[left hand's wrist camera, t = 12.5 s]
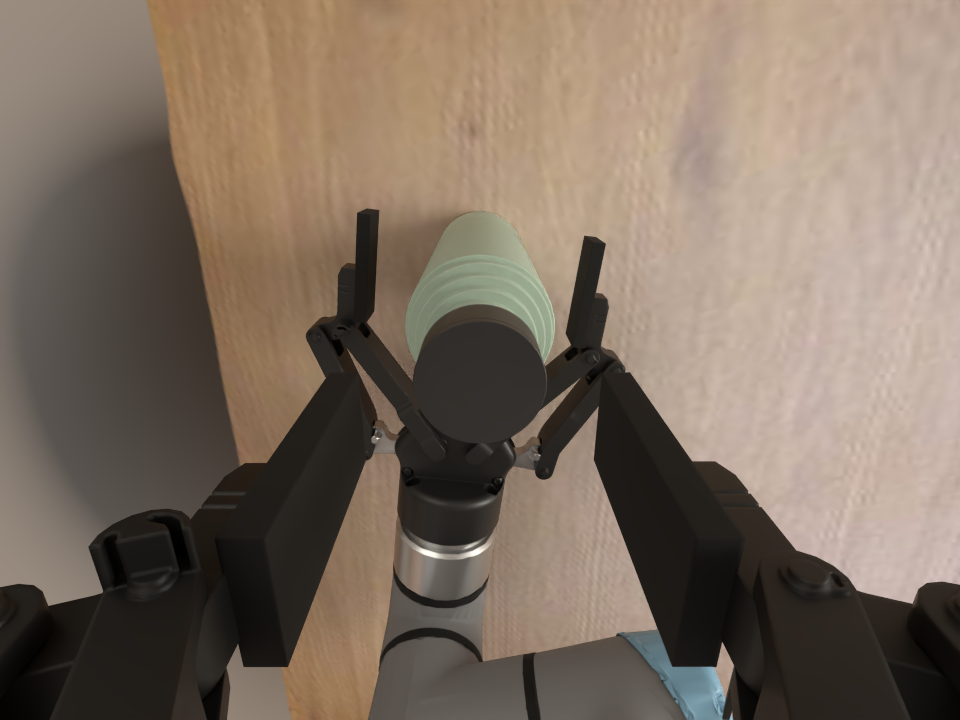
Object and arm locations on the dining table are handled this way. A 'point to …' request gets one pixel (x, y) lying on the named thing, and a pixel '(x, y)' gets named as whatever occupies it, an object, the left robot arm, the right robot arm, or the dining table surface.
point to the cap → (480, 374)
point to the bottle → (479, 279)
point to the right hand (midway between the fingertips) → (482, 224)
